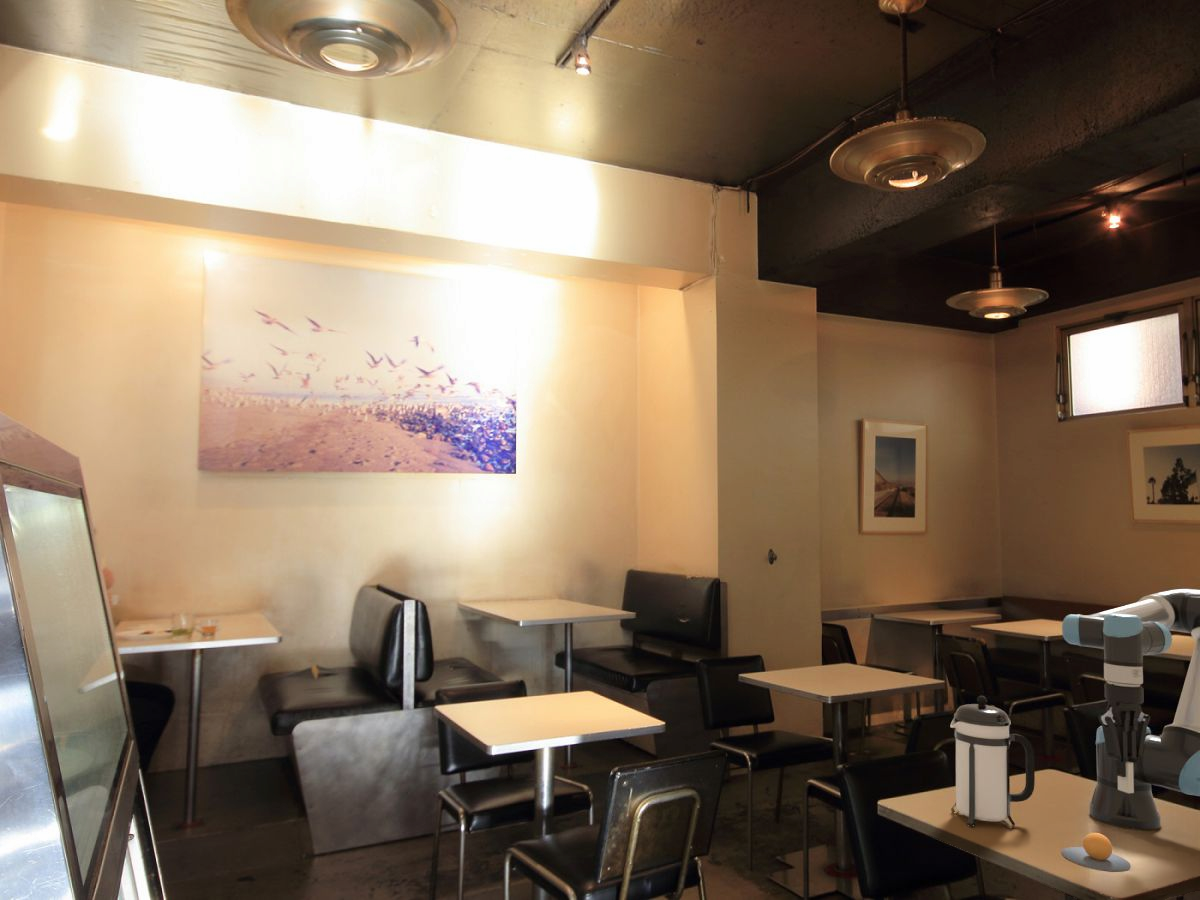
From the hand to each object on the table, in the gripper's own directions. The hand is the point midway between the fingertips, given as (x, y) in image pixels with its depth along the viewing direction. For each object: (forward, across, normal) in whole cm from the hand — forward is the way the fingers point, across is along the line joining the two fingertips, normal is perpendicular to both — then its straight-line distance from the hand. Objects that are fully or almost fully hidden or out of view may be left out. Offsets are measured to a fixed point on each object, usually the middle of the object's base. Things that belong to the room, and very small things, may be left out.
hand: (1125, 791), depth 188 cm
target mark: (+14, -9, 0) cm, 17 cm away
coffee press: (+14, -14, +26) cm, 33 cm away
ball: (+11, -9, 0) cm, 14 cm away
